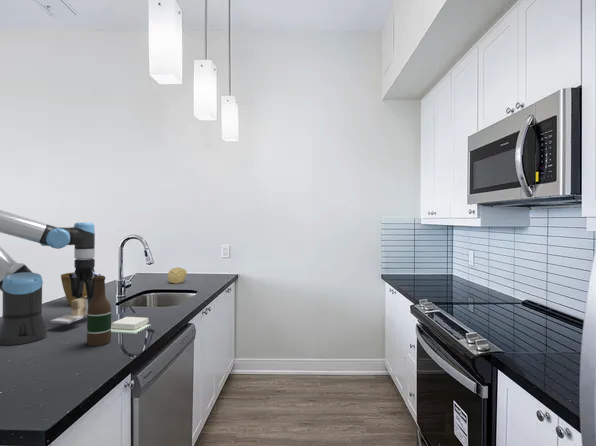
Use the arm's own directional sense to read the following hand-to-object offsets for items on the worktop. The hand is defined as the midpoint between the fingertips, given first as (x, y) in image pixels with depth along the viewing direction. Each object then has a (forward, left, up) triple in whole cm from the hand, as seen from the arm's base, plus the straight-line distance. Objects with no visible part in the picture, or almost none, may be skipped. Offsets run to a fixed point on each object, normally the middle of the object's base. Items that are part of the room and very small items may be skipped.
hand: (84, 313), depth 159 cm
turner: (-4, 0, 0) cm, 4 cm away
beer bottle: (-23, -24, -4) cm, 33 cm away
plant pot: (+26, +24, -4) cm, 36 cm away
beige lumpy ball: (+97, +6, -4) cm, 97 cm away
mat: (-6, -24, -4) cm, 25 cm away
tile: (+1, -24, -2) cm, 24 cm away
